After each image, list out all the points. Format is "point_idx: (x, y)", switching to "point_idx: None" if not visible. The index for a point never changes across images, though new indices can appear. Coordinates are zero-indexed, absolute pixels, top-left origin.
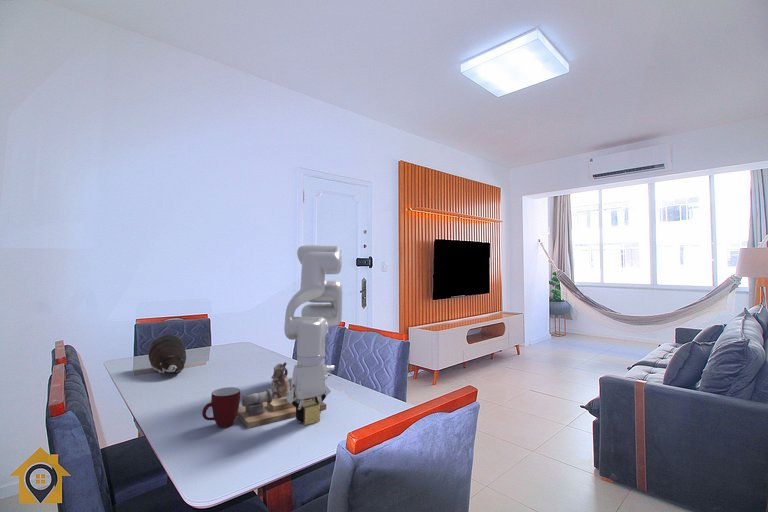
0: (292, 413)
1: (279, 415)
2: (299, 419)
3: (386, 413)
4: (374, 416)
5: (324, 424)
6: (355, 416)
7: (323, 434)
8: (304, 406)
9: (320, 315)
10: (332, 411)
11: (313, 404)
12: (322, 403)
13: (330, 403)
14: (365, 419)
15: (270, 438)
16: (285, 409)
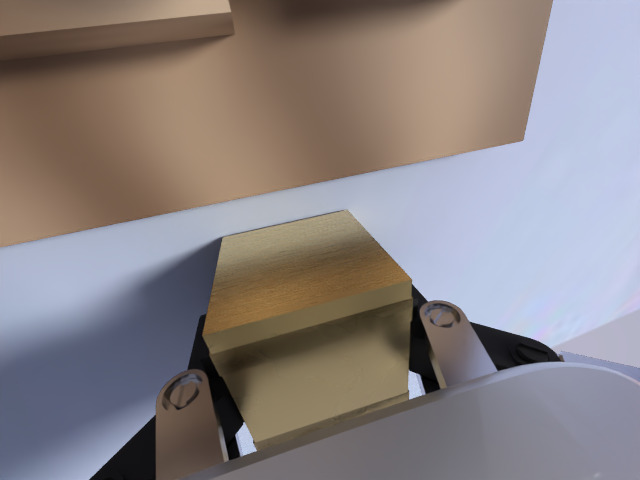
0: (178, 206)
1: (13, 244)
2: None
3: (624, 308)
4: (574, 322)
5: None
6: (526, 304)
7: None
8: (268, 434)
9: None
10: (491, 199)
11: (362, 405)
12: (513, 101)
13: (592, 9)
14: None
15: (29, 446)
16: (75, 81)
